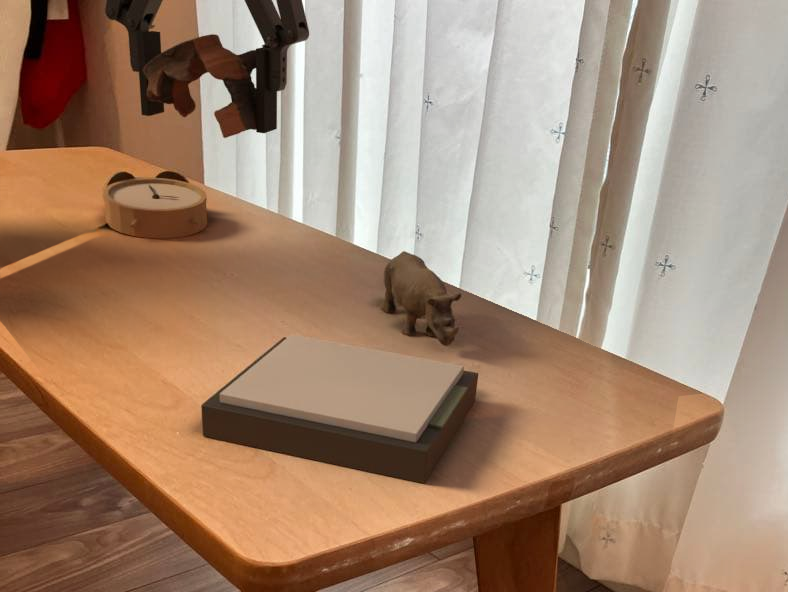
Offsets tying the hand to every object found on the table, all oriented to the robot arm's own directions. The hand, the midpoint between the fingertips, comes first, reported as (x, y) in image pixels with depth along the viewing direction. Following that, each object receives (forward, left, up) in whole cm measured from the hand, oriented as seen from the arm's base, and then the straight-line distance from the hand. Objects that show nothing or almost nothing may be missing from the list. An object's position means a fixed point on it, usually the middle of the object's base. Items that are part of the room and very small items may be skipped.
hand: (209, 122), depth 84 cm
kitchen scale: (+22, -23, -15) cm, 35 cm away
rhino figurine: (+22, -4, -15) cm, 27 cm away
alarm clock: (-16, +16, -15) cm, 27 cm away
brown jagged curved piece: (+1, 0, 0) cm, 1 cm away
